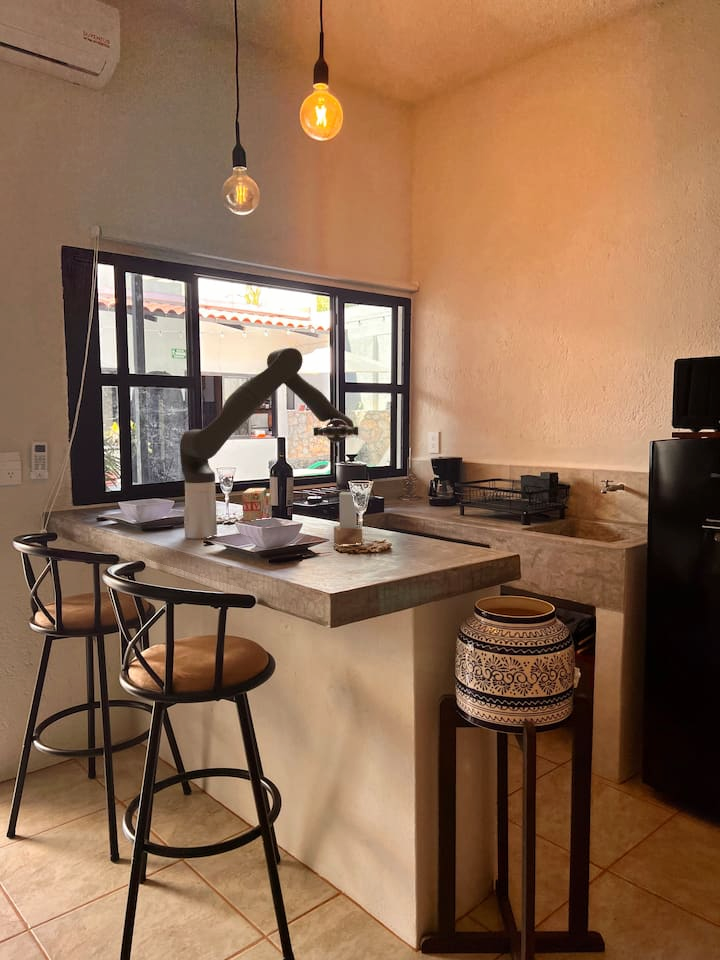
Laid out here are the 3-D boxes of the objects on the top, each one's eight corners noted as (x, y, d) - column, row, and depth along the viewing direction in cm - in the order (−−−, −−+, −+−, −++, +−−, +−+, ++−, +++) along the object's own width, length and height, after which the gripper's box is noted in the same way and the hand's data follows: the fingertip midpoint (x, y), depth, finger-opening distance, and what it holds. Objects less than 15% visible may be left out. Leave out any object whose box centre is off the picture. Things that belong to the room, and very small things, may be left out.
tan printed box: (254, 518, 249) (253, 484, 248) (271, 518, 249) (271, 484, 248) (243, 528, 228) (241, 492, 227) (261, 528, 228) (260, 491, 226)
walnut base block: (338, 547, 196) (337, 530, 195) (334, 542, 203) (333, 526, 202) (362, 546, 197) (361, 529, 197) (357, 541, 204) (357, 525, 203)
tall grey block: (339, 528, 198) (339, 494, 197) (341, 525, 202) (340, 492, 201) (355, 528, 197) (355, 494, 196) (356, 525, 202) (356, 492, 201)
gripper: (315, 419, 228) (312, 420, 212) (358, 418, 228) (358, 419, 212) (316, 441, 229) (312, 444, 213) (358, 441, 229) (358, 443, 213)
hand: (335, 431), depth 213 cm, fingers open, 8 cm apart
